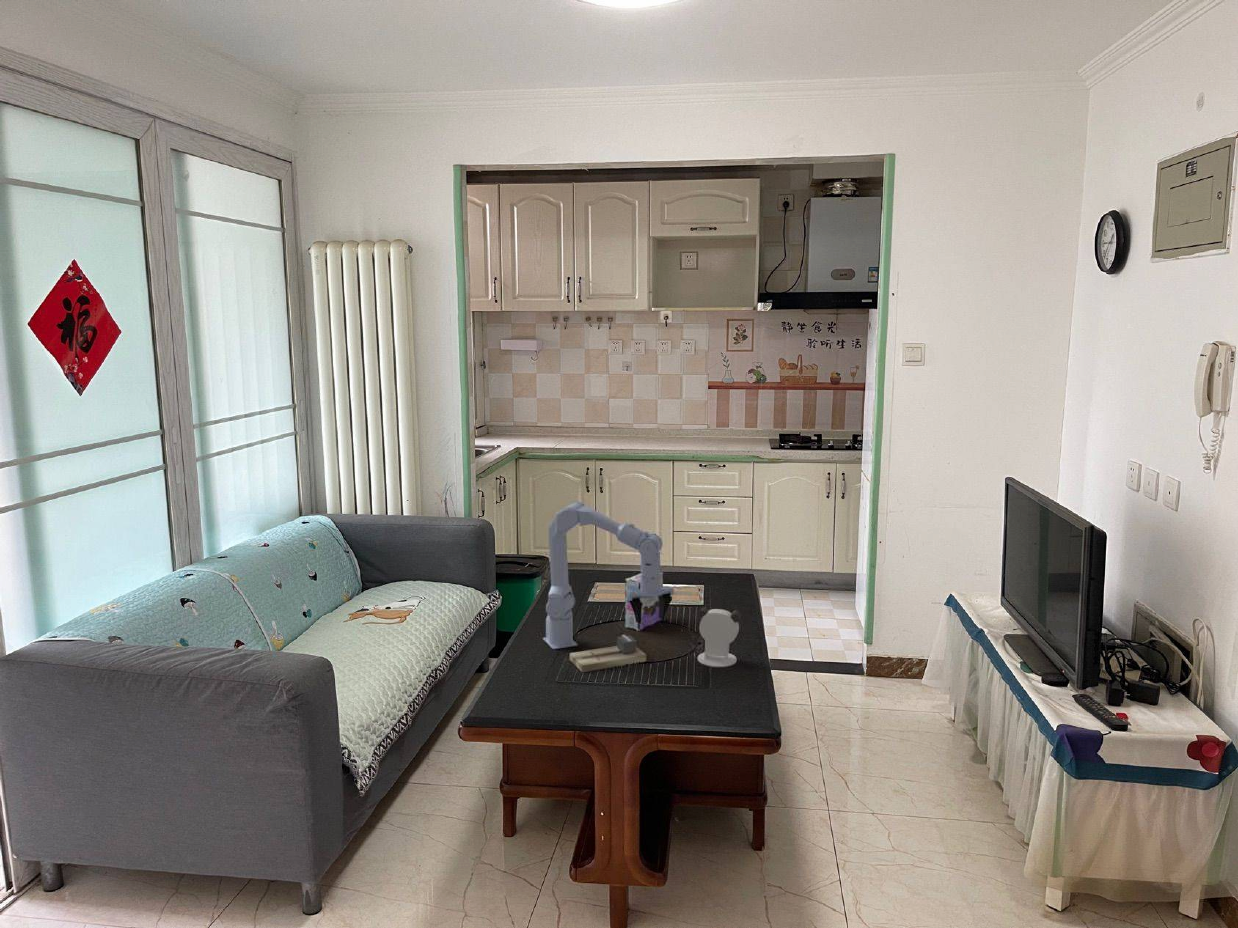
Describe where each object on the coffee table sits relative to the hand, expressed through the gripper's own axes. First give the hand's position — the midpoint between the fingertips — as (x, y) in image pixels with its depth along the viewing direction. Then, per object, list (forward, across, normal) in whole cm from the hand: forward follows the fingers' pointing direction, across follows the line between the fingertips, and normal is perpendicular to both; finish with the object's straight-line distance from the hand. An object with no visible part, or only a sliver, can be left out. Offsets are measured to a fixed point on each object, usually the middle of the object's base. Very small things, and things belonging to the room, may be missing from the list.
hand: (650, 620), depth 259 cm
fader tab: (+8, -7, 0) cm, 11 cm away
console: (+10, -13, 0) cm, 17 cm away
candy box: (+11, +10, +24) cm, 28 cm away
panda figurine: (+11, +17, -12) cm, 23 cm away
